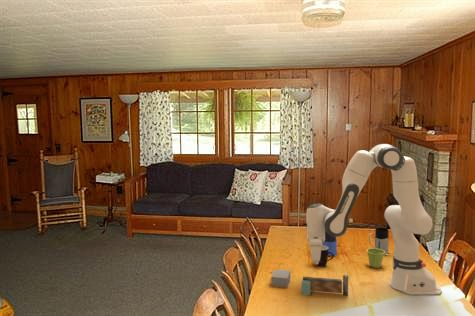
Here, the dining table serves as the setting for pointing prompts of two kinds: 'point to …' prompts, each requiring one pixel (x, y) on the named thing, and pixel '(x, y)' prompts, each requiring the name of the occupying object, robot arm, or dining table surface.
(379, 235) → the lidded pitcher
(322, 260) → the coffee mug
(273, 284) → the rubber block
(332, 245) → the water bottle
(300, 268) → the dining table surface
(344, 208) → the robot arm
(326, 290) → the gate
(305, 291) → the grey-green rectangular block
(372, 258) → the plant pot
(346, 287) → the hinge post
